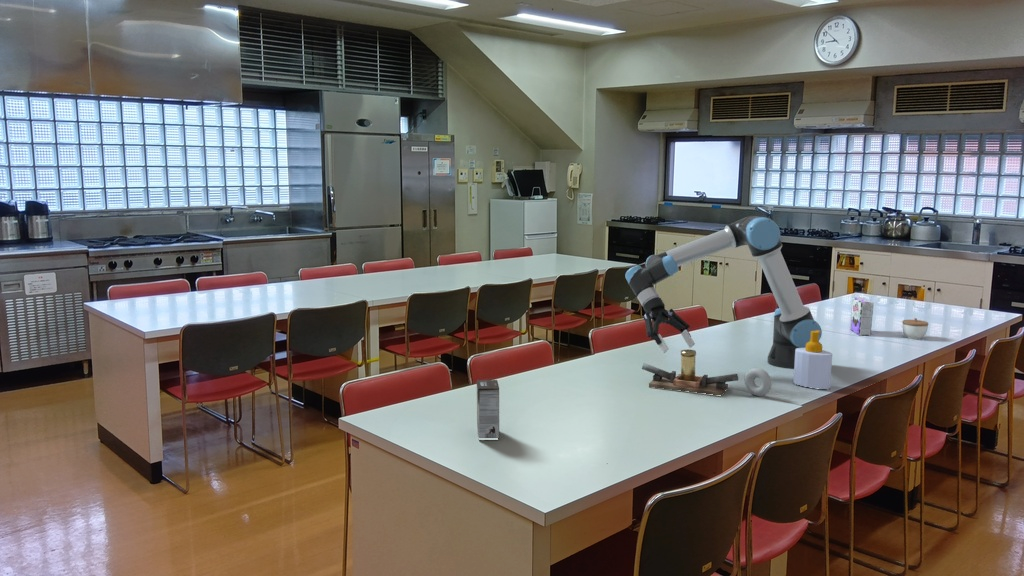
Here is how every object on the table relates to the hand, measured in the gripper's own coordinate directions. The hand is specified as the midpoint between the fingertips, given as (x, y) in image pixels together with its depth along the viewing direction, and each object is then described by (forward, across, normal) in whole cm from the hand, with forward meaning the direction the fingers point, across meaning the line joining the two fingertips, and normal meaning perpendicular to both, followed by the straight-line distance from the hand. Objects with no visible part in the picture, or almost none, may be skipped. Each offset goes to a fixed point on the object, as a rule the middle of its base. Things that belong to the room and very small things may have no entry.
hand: (679, 348), depth 274 cm
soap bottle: (+30, -39, +10) cm, 51 cm away
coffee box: (+14, +86, -6) cm, 88 cm away
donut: (+28, -13, +8) cm, 31 cm away
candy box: (+1, -139, -20) cm, 140 cm away
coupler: (+12, 0, -6) cm, 13 cm away
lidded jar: (+16, -149, -5) cm, 150 cm away
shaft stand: (+13, 0, -7) cm, 14 cm away
